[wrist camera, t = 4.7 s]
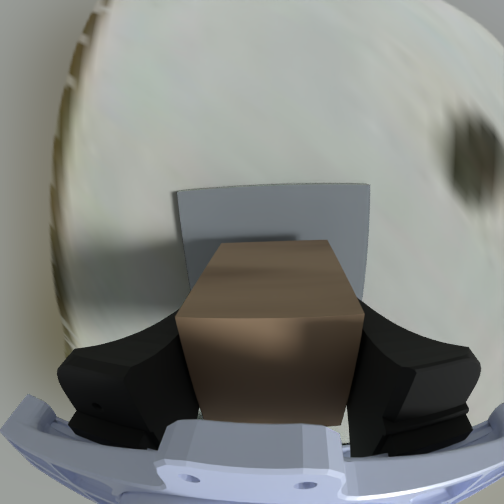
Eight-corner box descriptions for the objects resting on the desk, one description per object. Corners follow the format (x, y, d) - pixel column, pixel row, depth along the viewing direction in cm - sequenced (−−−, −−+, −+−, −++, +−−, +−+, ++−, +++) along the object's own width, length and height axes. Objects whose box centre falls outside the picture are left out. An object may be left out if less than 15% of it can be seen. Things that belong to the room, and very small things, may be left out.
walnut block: (323, 328, 14) (340, 425, 8) (231, 330, 15) (205, 424, 9) (327, 239, 13) (365, 313, 7) (221, 243, 13) (175, 317, 7)
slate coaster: (353, 339, 17) (354, 345, 16) (203, 341, 18) (201, 347, 17) (366, 183, 14) (370, 185, 13) (180, 190, 15) (177, 191, 14)
